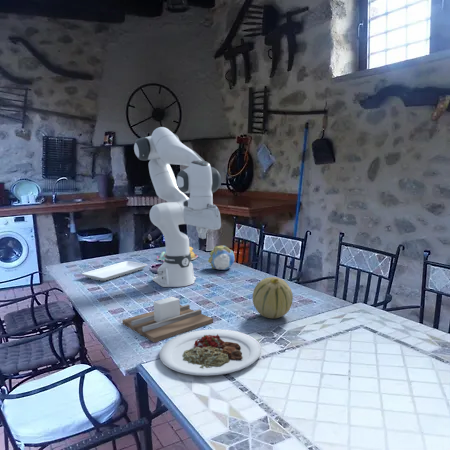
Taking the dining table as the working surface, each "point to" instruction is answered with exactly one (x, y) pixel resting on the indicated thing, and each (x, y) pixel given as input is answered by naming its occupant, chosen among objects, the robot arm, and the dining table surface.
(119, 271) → the tray
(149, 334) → the rail panel
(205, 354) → the plated food
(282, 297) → the cantaloupe
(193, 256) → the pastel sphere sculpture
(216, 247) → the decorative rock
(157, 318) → the rail module
